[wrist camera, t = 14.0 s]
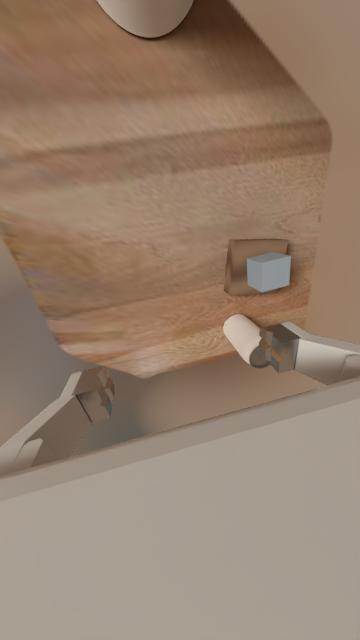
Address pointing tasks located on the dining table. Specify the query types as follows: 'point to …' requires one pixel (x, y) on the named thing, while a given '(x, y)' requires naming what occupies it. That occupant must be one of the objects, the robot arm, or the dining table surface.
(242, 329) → the can
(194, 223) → the dining table surface
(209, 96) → the dining table surface
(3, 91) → the dining table surface
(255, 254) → the walnut block
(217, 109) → the dining table surface
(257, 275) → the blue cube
